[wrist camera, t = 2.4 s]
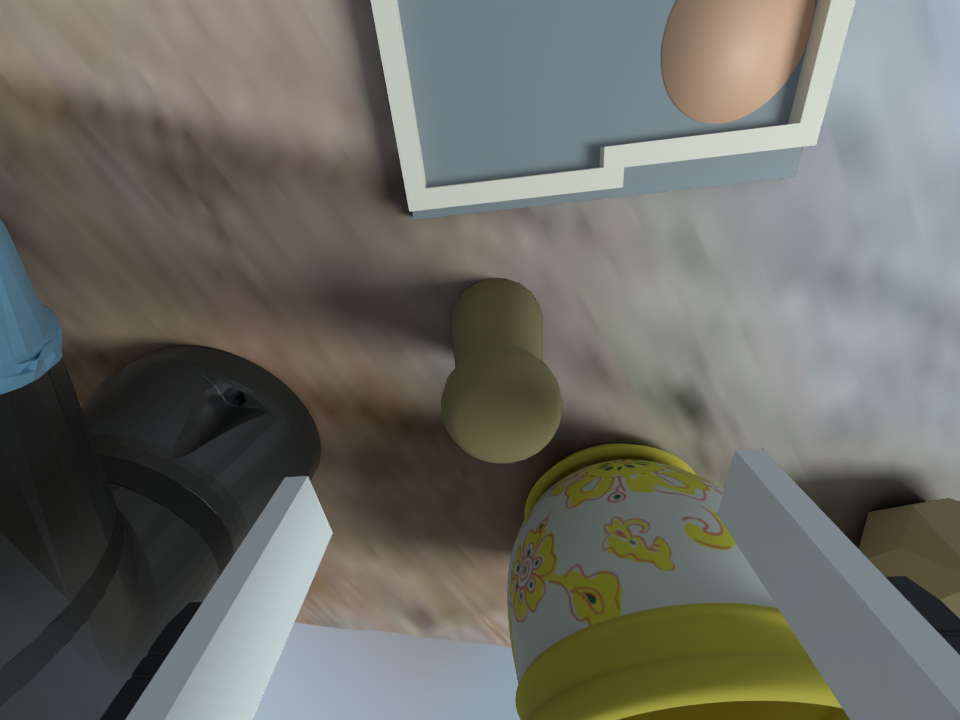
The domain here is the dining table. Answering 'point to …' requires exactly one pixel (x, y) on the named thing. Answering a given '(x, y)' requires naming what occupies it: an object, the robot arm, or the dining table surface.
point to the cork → (500, 375)
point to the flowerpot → (646, 602)
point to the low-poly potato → (918, 546)
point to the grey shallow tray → (601, 95)
